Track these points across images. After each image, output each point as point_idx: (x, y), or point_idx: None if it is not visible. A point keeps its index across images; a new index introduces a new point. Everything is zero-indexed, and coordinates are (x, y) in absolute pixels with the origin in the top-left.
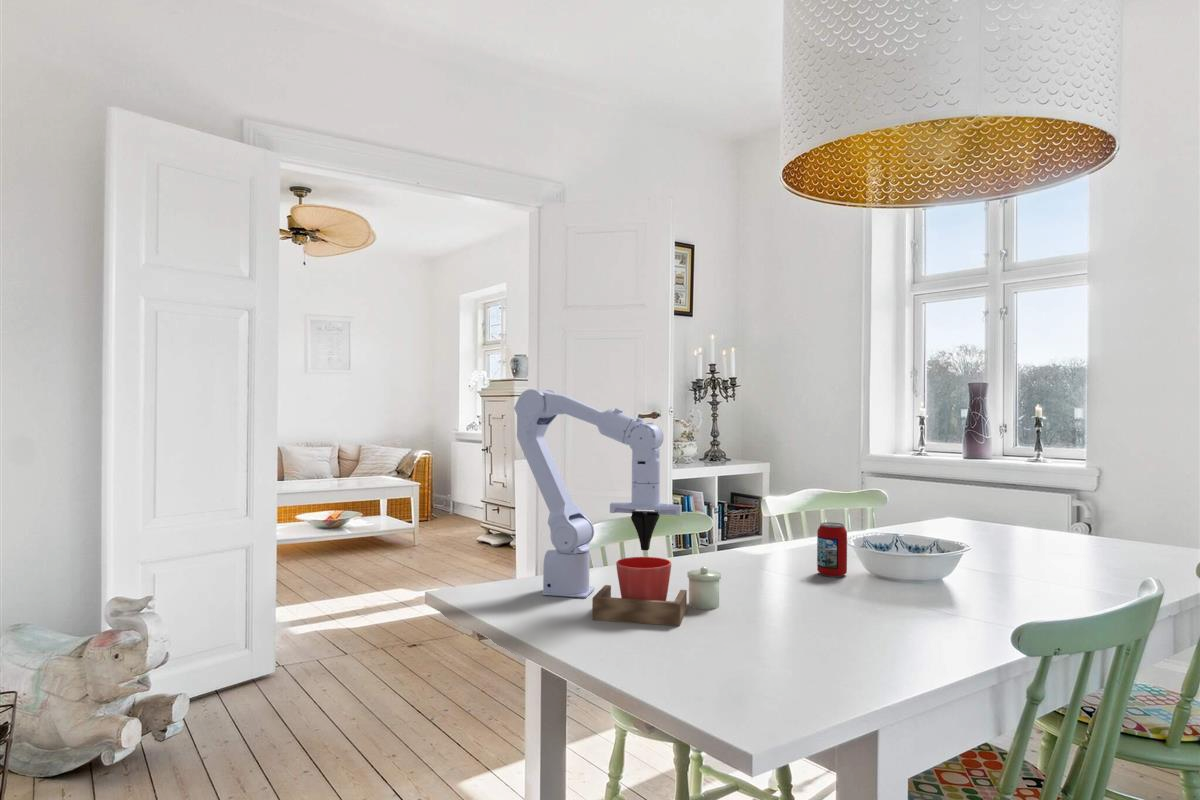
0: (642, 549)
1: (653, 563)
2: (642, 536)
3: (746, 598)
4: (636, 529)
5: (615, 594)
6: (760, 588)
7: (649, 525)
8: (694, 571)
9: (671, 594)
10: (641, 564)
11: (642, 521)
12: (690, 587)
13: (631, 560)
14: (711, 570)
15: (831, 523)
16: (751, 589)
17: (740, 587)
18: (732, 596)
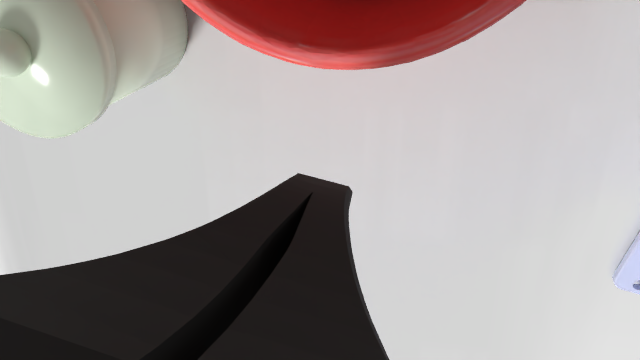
0: (338, 185)
1: (267, 8)
2: (303, 235)
3: (11, 130)
4: (361, 302)
5: (514, 198)
6: (5, 249)
7: (137, 279)
8: (72, 95)
9: (267, 190)
10: (368, 25)
11: (212, 345)
12: (124, 2)
13: (459, 8)
14: (4, 122)
15: None
16: (25, 240)
17: (59, 264)
18: (58, 157)
